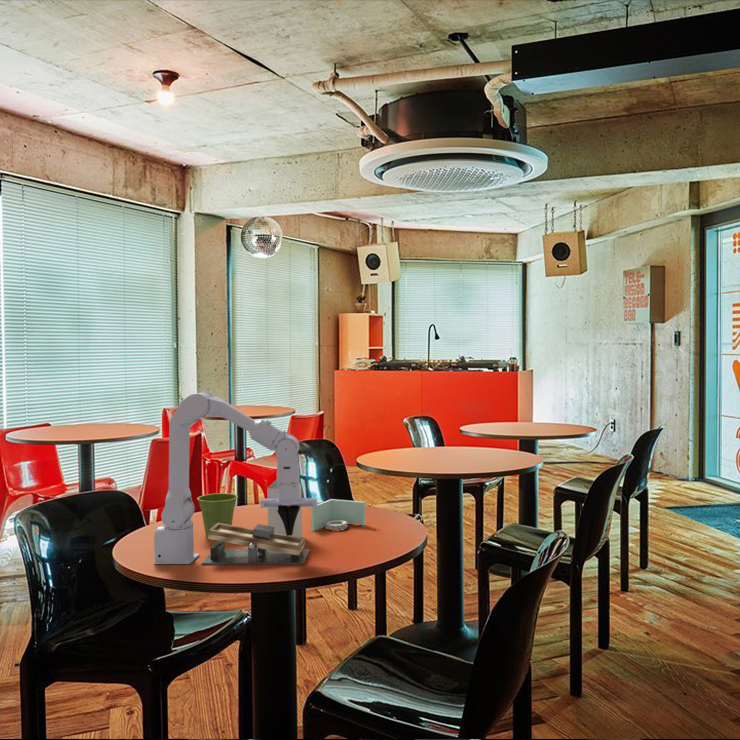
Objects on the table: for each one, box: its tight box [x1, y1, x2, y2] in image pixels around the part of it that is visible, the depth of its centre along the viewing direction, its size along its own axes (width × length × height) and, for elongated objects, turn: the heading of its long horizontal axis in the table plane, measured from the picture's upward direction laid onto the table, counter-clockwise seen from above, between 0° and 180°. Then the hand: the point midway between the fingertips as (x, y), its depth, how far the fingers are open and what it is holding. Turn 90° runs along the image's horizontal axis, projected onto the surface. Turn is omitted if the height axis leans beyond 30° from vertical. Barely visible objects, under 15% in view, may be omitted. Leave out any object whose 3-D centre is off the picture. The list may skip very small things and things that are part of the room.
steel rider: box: [252, 523, 275, 540], centre depth 178 cm, size 4×5×3 cm
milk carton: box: [266, 478, 303, 538], centre depth 196 cm, size 7×7×19 cm
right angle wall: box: [310, 498, 367, 532], centre depth 207 cm, size 12×12×8 cm
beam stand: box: [200, 541, 311, 566], centre depth 178 cm, size 26×13×5 cm, turn 86°
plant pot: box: [196, 492, 239, 537], centre depth 202 cm, size 12×12×11 cm
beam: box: [206, 523, 306, 555], centre depth 178 cm, size 24×8×2 cm, turn 86°
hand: (289, 534), depth 177 cm, fingers closed
